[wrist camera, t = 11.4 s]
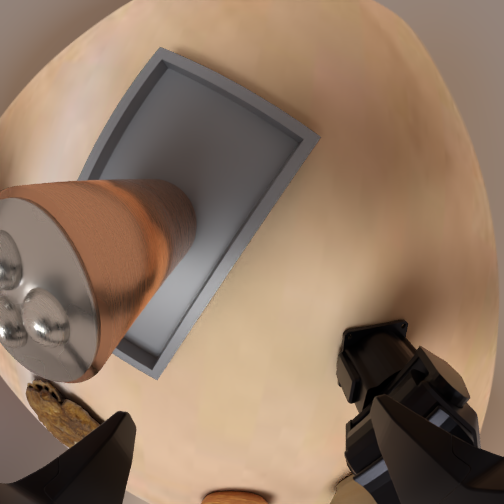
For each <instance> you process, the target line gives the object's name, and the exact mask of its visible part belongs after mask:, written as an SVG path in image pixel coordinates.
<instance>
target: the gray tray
mask: <svg viewBox="0 0 504 504" xmlns="http://www.w3.org/2000/svg"><path fill="white" fill-rule="evenodd" d="M320 138H321V137H320V136H319V135H317V134H316V133H315V132H313V131H312V130H310V129H309V128H308V127H306V126H305V125H303V124H302V123H300V122H299V121H297V120H296V119H294V118H293V117H291V116H290V115H288V114H287V113H285V112H284V111H282V110H281V109H279V108H278V107H276V106H275V105H273V104H271V103H270V102H268V101H266V100H265V99H263V98H262V97H260V96H258V95H256V94H255V93H253V92H251V91H250V90H248V89H246V88H244V87H243V86H241V85H239V84H237V83H235V82H234V81H232V80H230V79H228V78H226V77H224V76H222V75H220V74H218V73H217V72H215V71H213V70H211V69H209V68H207V67H204V66H202V65H200V64H198V63H196V62H194V61H192V60H190V59H187V58H185V57H183V56H181V55H178V54H176V53H174V52H171V51H169V50H167V49H164V48H162V47H160V48H159V49H158V50H157V51H156V52H155V54H154V55H153V56H152V57H151V59H150V60H149V61H148V63H147V64H146V65H145V66H144V68H143V69H142V70H141V72H140V73H139V75H138V76H137V77H136V79H135V80H134V82H133V83H132V84H131V86H130V87H129V89H128V90H127V92H126V93H125V95H124V96H123V98H122V99H121V101H120V102H119V104H118V105H117V107H116V109H115V110H114V112H113V113H112V115H111V117H110V118H109V120H108V122H107V124H106V125H105V127H104V129H103V131H102V132H101V134H100V136H99V138H98V140H97V141H96V143H95V145H94V147H93V149H92V151H91V153H90V155H89V157H88V159H87V161H86V163H85V165H84V167H83V169H82V172H81V174H80V176H79V178H78V180H77V181H85V180H111V179H160V180H165V181H168V182H170V183H172V184H174V185H176V186H177V187H178V188H180V189H181V190H182V191H183V192H184V193H185V194H186V195H187V197H188V198H189V200H190V201H191V203H192V206H193V208H194V211H195V215H196V223H197V227H196V235H195V239H194V241H193V244H192V246H191V248H190V249H189V251H188V252H187V254H186V255H185V256H184V257H183V259H182V260H181V261H180V262H179V264H178V265H177V266H176V267H175V269H174V270H173V271H172V273H171V274H170V275H169V276H168V278H167V279H166V280H165V282H164V283H163V284H162V286H161V287H160V288H159V289H158V291H157V292H156V293H155V295H154V296H153V297H152V299H151V300H150V301H149V303H148V304H147V305H146V307H145V308H144V309H143V311H142V312H141V313H140V315H139V316H138V317H137V319H136V320H135V322H134V323H133V324H132V326H131V327H130V328H129V330H128V331H127V333H126V334H125V335H124V337H123V338H122V340H121V341H120V342H119V344H118V345H117V347H116V348H115V350H114V351H113V352H112V353H113V354H114V355H116V356H117V357H119V358H120V359H122V360H123V361H125V362H127V363H128V364H130V365H132V366H133V367H135V368H137V369H138V370H140V371H142V372H143V373H145V374H147V375H149V376H150V377H152V378H154V379H156V380H158V378H159V377H160V375H161V374H162V372H163V371H164V369H165V368H166V366H167V365H168V363H169V362H170V360H171V359H172V357H173V356H174V354H175V353H176V351H177V350H178V348H179V346H180V345H181V343H182V342H183V340H184V339H185V337H186V336H187V334H188V333H189V331H190V330H191V328H192V327H193V325H194V324H195V322H196V321H197V319H198V318H199V316H200V315H201V313H202V312H203V310H204V309H205V307H206V306H207V304H208V303H209V301H210V300H211V298H212V297H213V295H214V294H215V292H216V291H217V289H218V288H219V286H220V285H221V283H222V282H223V280H224V279H225V277H226V276H227V274H228V273H229V271H230V270H231V269H232V267H233V266H234V264H235V263H236V261H237V260H238V258H239V257H240V255H241V254H242V252H243V251H244V249H245V248H246V246H247V245H248V243H249V242H250V240H251V239H252V237H253V236H254V234H255V233H256V231H257V230H258V229H259V227H260V226H261V224H262V223H263V221H264V220H265V218H266V217H267V215H268V214H269V212H270V211H271V209H272V208H273V206H274V205H275V204H276V202H277V201H278V199H279V198H280V196H281V195H282V193H283V192H284V190H285V189H286V187H287V186H288V184H289V183H290V182H291V180H292V179H293V177H294V176H295V174H296V173H297V171H298V170H299V168H300V167H301V165H302V164H303V163H304V161H305V160H306V158H307V157H308V155H309V154H310V152H311V151H312V149H313V148H314V147H315V145H316V144H317V142H318V141H319V139H320Z"/></svg>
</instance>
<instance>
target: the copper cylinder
mask: <svg viewBox="0 0 504 504" xmlns="http://www.w3.org/2000/svg"><path fill="white" fill-rule="evenodd" d="M196 227H197V223H196V215H195V211H194V208H193V206H192V203H191V201H190V200H189V198H188V197H187V195H186V194H185V193H184V192H183V191H182V190H181V189H180V188H178V187H177V186H176V185H174V184H172V183H170V182H168V181H165V180H160V179H111V180H85V181H68V182H54V183H42V184H31V185H22V186H13V187H10V188H6V189H4V190H2V191H0V343H1V344H2V345H3V346H4V348H5V349H6V350H7V351H8V352H9V353H10V354H11V355H12V356H13V357H14V358H15V359H16V360H17V361H18V362H19V363H20V364H21V365H23V366H24V367H25V368H27V369H28V370H29V371H31V372H33V373H34V374H36V375H38V376H40V377H42V378H45V379H48V380H51V381H56V382H65V383H78V382H83V381H86V380H88V379H90V378H92V377H93V376H95V375H96V374H97V373H98V372H99V371H100V369H101V368H102V367H103V365H104V364H105V363H106V361H107V360H108V358H109V357H110V355H111V354H112V352H113V351H114V350H115V348H116V347H117V345H118V344H119V342H120V341H121V340H122V338H123V337H124V335H125V334H126V333H127V331H128V330H129V328H130V327H131V326H132V324H133V323H134V322H135V320H136V319H137V317H138V316H139V315H140V313H141V312H142V311H143V309H144V308H145V307H146V305H147V304H148V303H149V301H150V300H151V299H152V297H153V296H154V295H155V293H156V292H157V291H158V289H159V288H160V287H161V286H162V284H163V283H164V282H165V280H166V279H167V278H168V276H169V275H170V274H171V273H172V271H173V270H174V269H175V267H176V266H177V265H178V264H179V262H180V261H181V260H182V259H183V257H184V256H185V255H186V254H187V252H188V251H189V249H190V248H191V246H192V244H193V241H194V239H195V235H196Z"/></svg>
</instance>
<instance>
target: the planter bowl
mask: <svg viewBox="0 0 504 504" xmlns="http://www.w3.org/2000/svg"><path fill="white" fill-rule="evenodd" d="M353 476H355V475H354V474H353V475H351V476H349V477H347V478H345V479H344V480H342V481H341V482H340V483H339V484H338V485H337V493H336V494H335V496H334V497H333V499H332V501H331V503H330V504H377V503H376V501H375V500H374V498H373V497H372V496H371V494H370V493H369V492H368V491H367V490H366V489H365V488H364V487H363V486H361V485H360V484H358V483H357V482H356V481H354V480H353Z"/></svg>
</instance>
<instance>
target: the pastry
mask: <svg viewBox="0 0 504 504" xmlns="http://www.w3.org/2000/svg"><path fill="white" fill-rule="evenodd" d="M201 504H268V503H267V502H266V500H264V499H263V498H262V497H261V496H259V495H257V494H253V493H248V492H241V491H221V492H214V493H211V494H209V495H207V496H206V497H205V499H204V500H203V501H202V503H201Z"/></svg>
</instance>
